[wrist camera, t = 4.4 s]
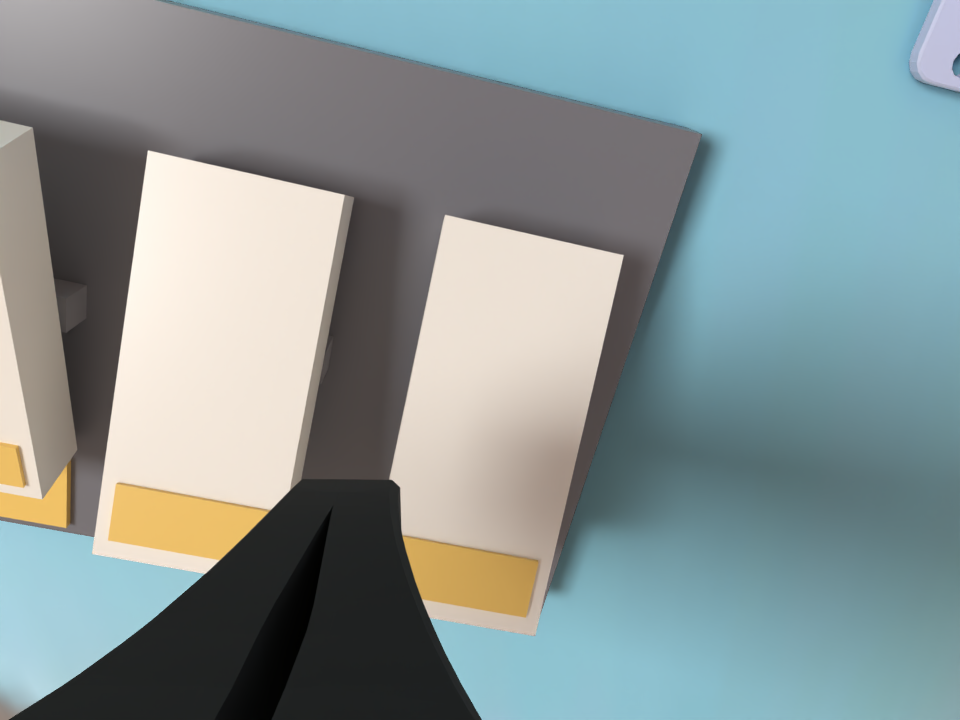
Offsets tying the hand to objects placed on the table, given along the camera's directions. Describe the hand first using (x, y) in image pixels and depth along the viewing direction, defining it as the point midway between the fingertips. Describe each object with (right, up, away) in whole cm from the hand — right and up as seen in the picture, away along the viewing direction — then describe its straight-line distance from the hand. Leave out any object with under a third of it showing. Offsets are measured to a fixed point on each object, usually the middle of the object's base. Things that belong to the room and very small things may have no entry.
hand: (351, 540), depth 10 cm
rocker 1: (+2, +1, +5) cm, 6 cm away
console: (-3, +4, +8) cm, 9 cm away
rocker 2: (-3, +2, +5) cm, 6 cm away
